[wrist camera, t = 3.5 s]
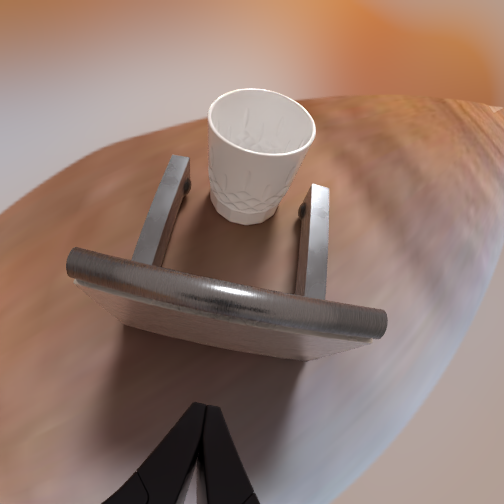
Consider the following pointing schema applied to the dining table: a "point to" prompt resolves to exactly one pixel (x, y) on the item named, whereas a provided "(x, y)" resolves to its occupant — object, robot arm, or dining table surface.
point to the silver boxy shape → (226, 289)
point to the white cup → (255, 152)
